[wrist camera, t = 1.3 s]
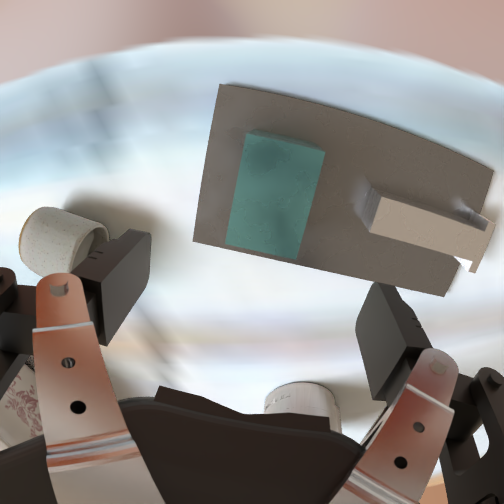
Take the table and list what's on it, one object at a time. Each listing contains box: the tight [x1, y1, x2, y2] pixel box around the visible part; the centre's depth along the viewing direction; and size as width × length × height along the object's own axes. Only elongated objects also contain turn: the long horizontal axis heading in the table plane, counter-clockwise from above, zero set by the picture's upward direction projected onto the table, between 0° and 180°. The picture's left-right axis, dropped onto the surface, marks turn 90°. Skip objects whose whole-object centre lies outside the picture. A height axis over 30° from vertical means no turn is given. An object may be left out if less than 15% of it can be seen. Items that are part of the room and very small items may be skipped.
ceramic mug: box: [19, 207, 109, 277], centre depth 28 cm, size 10×8×7 cm
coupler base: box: [193, 84, 496, 297], centre depth 25 cm, size 26×14×4 cm, turn 79°
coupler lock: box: [225, 129, 325, 260], centre depth 23 cm, size 5×8×6 cm, turn 169°
